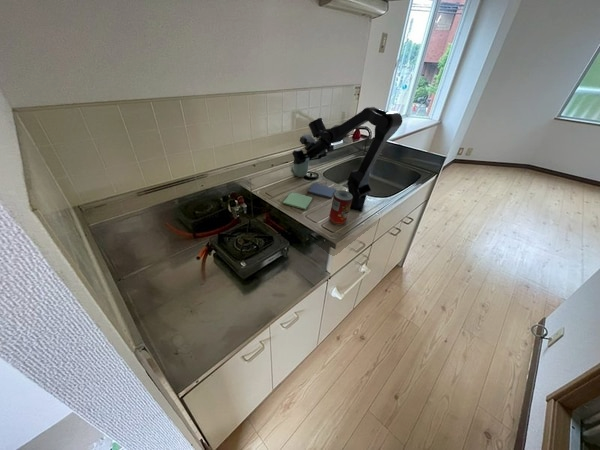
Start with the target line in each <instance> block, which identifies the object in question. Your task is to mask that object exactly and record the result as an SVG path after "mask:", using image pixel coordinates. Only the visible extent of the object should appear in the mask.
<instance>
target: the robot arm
mask: <svg viewBox="0 0 600 450" xmlns="http://www.w3.org/2000/svg"><path fill="white" fill-rule="evenodd" d="M403 121H404V119H403V116H402V115H401V113H400V112H398V111H387V110H384V109H379V108H377V107H375V106H369V107H365V108H363V110H361V111H360V112H358V113H357V114H355V115H353V116H352V117H351V118H349V119H347V120H346V121H345V122H343V123H341V124H339V125H336V126H333V127H331V128H326V126H325V124H324V120H323V118H322V117H318V118H316V119H314V120H312V121H310V122H309V123H308V128H309V130H310V132H311V134H310V133H306V134H303V135H301V136H300V138H299V143H300V144H301V145H304V146H305V147H304V150H305V151H306V153H304V151H303V149H302V148H298V149H294V150H293V151H292V153H291V155H292V156H293V162H292V163H294V164H302V163H304V162H306V159H307V158H310V160H309V161H316V160H321V159H324V158H326V157H327V155H328V153H330V152H334V150H335V148H334V146H335V145H334V144H337V143H340V142H342V141H343V140H344V139H345V138H346V137H347V135H349V133H351V132H353V131H354V130H356V129H357V128H359V127H362V125H365V124H366V123H368V122H369V124H371V125H373V126H375V127H374V137H373V138H372V140H371V143H370V144H369V146H368V148H367V150H366V153H365V155H364V157H363V159H362V161H361V163H360V165H359V167H358V169H354V170H352V171H350V174H349V176H348V178H347V179H346V180H347V183H346V186H347V192H349V193H351V194H352V196H353V199H352V202H351V206H350V210H351V211H357V212H359V213H360V212H361V213H363V210H364V206H365V202H366V199H367V195H370V193H371V192H372V189H371V187H370V184H369V183H370V178H371V177H370V175H371V174H370V173H371V171H372V169H373V167H374V166H375V164H376V162H377V160H378V159H379V157H380V155H381V153H382V151H383V150H384V147H385V145H386V144H387V142H388V140H389V139H390V138H392V137H393V136H394V135H395V134H396V132H397V131H398V130H399V129H400V127H401V126H402V125H403ZM315 138H316V139H317V140H316V139H315ZM294 158H295V159H294Z"/></svg>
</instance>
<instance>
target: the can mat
mask: <svg viewBox="0 0 600 450" xmlns="http://www.w3.org/2000/svg"><path fill="white" fill-rule="evenodd" d="M335 192H336V188H334V187H329V186H326V185H322V184H318V183H313V184H312V185H311V187H310V188H309V190H308V191H307V193H308V194H311V195H316V196H319V197H323V198H327V199H332V198H333V196H334V193H335Z"/></svg>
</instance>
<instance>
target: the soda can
mask: <svg viewBox="0 0 600 450" xmlns="http://www.w3.org/2000/svg"><path fill="white" fill-rule="evenodd" d="M352 199H353V196H352V194H351V193H349V192H348V190H344V189H339V190H335V192H334V194H333V196H332V202H331V206H330V211H329V219H330V222H331V223H332V224H334V225H339V226H340V225H344V224H345V222H347V220H348V217H349V214H350V210H351V209H350V206H351V202H352Z"/></svg>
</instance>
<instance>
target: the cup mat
mask: <svg viewBox="0 0 600 450" xmlns="http://www.w3.org/2000/svg"><path fill="white" fill-rule="evenodd" d="M312 200H313V197H311V196H308V195H304V194H302V193H301V194H300V193H298V192H293V191H292V192H290V193H289V194H288V195H287V197H286V198H285V199H284V200H283V201H282V204H283V205H284V206H285V205H286V206H289V207H293V208H296V209H301V210H303V211H305V210H306V209H307V208H308V206H309V205H310V204H311V201H312Z"/></svg>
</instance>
